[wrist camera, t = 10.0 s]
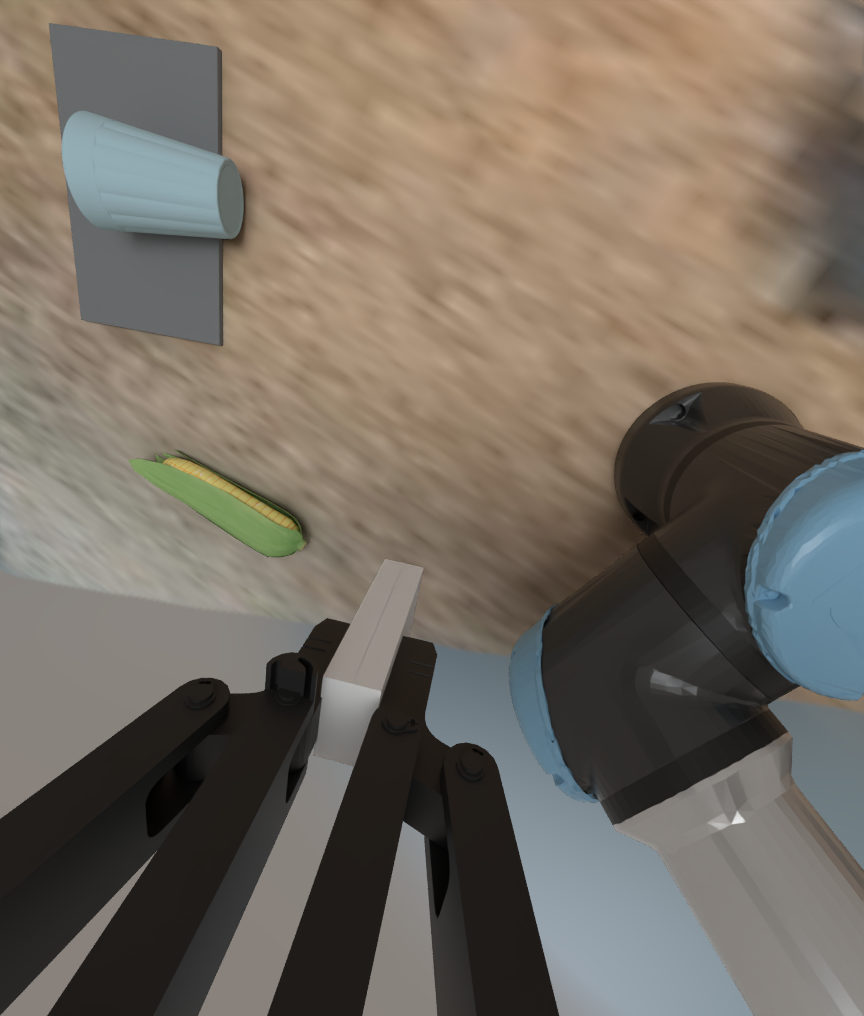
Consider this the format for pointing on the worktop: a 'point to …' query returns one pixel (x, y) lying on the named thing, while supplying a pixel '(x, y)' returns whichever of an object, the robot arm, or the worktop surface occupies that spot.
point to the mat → (164, 111)
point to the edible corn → (226, 504)
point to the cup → (149, 181)
